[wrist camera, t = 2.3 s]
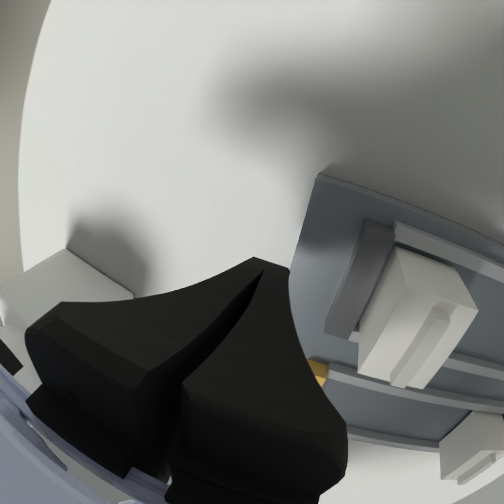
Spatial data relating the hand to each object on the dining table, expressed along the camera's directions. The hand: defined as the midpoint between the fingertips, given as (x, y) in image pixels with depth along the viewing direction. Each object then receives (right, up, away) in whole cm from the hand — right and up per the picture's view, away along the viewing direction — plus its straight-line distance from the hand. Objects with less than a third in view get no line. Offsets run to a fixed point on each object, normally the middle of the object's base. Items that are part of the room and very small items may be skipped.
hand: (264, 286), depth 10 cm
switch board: (+10, -5, +4) cm, 12 cm away
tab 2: (+14, -11, +3) cm, 18 cm away
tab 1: (+6, -1, +1) cm, 6 cm away
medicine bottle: (-12, -3, +11) cm, 16 cm away
